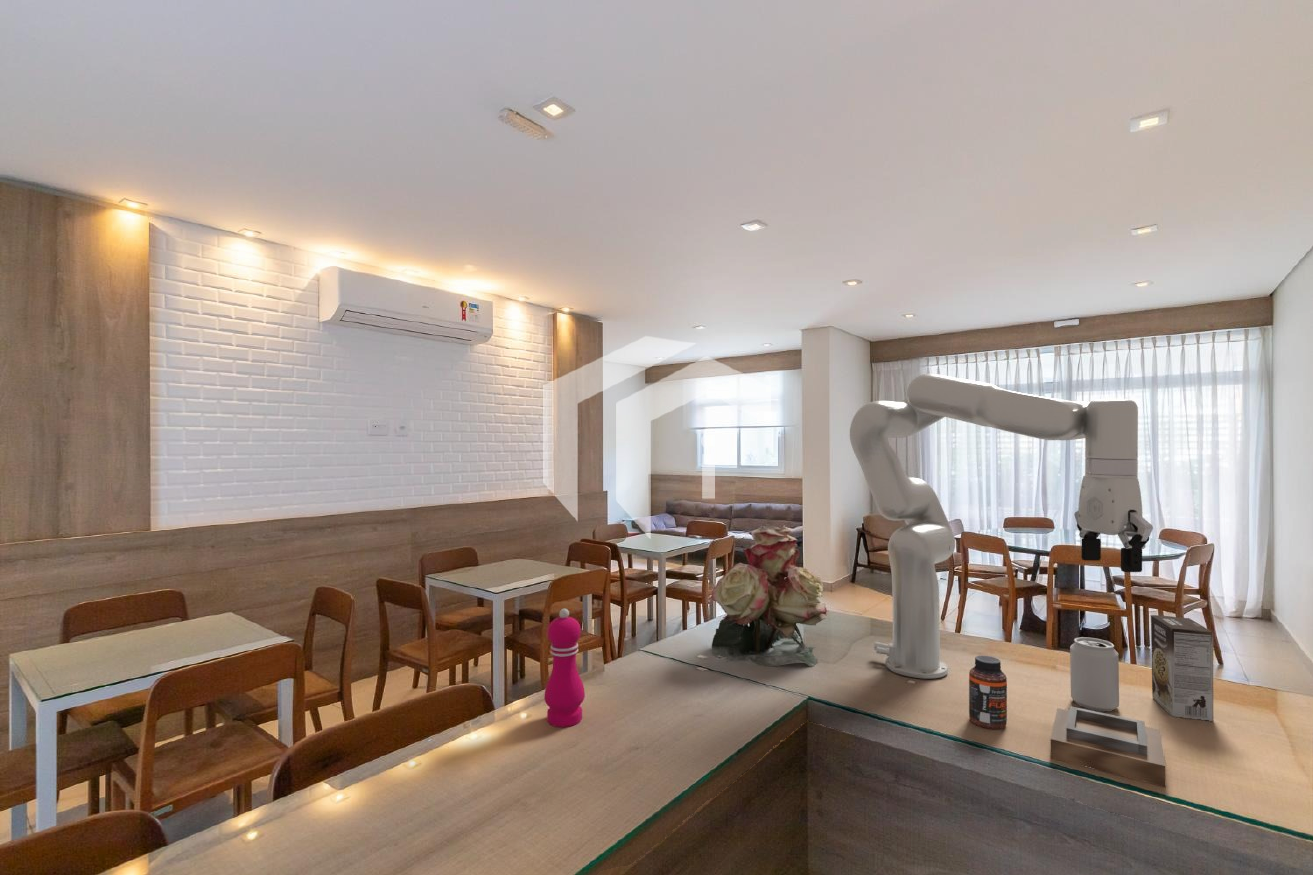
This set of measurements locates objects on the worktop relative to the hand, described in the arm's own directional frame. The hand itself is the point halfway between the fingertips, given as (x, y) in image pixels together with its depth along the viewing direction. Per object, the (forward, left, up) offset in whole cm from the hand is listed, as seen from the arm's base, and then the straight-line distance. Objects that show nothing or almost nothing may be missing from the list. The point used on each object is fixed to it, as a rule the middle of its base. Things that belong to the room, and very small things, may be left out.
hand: (1110, 565), depth 110 cm
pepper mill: (-80, -56, -28) cm, 101 cm away
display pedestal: (-1, -14, -28) cm, 31 cm away
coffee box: (+10, +14, -28) cm, 33 cm away
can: (-3, +7, -28) cm, 29 cm away
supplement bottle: (-18, -13, -28) cm, 35 cm away
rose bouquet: (-66, 0, -28) cm, 72 cm away
